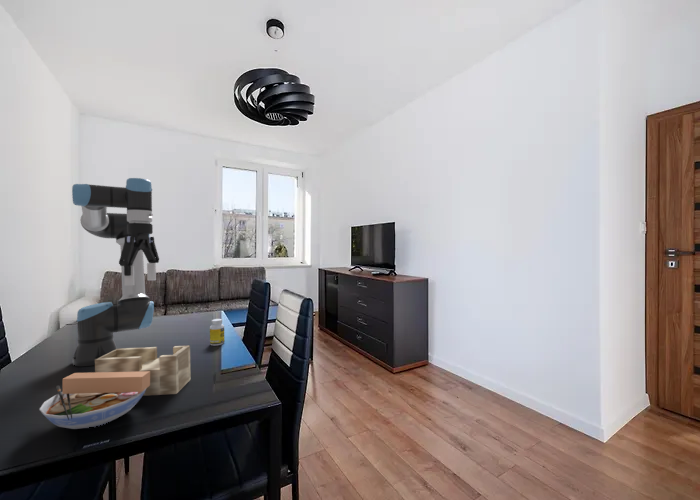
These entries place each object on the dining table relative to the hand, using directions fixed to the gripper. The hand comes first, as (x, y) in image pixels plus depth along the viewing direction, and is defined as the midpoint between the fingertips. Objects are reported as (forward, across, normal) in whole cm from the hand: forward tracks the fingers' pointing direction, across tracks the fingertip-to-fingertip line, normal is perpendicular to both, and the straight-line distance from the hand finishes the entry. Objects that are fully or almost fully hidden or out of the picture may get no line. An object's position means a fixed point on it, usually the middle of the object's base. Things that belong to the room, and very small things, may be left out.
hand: (141, 282), depth 113 cm
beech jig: (+34, -9, -6) cm, 36 cm away
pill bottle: (+35, +38, -13) cm, 53 cm away
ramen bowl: (+34, -29, -4) cm, 45 cm away
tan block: (+26, -28, -6) cm, 38 cm away
